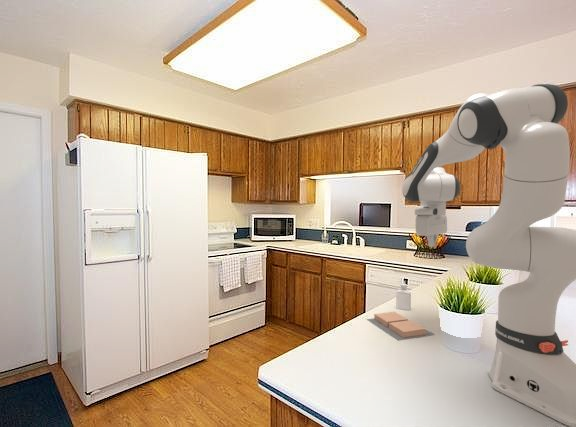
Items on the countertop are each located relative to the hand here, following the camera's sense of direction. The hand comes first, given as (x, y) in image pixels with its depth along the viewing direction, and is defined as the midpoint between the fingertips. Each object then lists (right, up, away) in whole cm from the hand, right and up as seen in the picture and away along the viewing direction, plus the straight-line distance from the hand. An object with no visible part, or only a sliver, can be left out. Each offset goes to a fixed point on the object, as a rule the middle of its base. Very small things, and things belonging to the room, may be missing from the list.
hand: (432, 246), depth 116 cm
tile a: (-10, -27, -10) cm, 31 cm away
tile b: (-12, -27, -1) cm, 30 cm away
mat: (-15, -29, -7) cm, 33 cm away
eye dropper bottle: (-6, -28, +13) cm, 32 cm away
